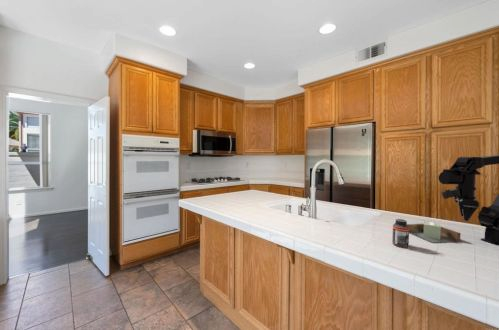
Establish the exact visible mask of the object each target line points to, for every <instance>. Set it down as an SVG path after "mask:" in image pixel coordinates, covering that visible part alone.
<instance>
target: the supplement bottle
mask: <svg viewBox="0 0 499 330" xmlns="http://www.w3.org/2000/svg"><path fill="white" fill-rule="evenodd" d="M406 224H408V222H407V220H406V219H401V218H396V219H395V222H394V224H393V225H392V244H393V246H395V247H398V248H408V247H409V244H410V233H409V227H408V226H407V225H406Z"/></svg>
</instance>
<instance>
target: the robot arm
mask: <svg viewBox="0 0 499 330" xmlns="http://www.w3.org/2000/svg"><path fill="white" fill-rule="evenodd" d="M491 165H492V166H493V165H499V154H494V155H488V156H459V157H457V159H456V160H455V162H454V163H453V164H452V165H451V166H450V167H449V169H447V168H443V169H442V171H441V172H440V174H439V175H438V181H439V182H440V184H442V185H456V186H455V188H452V189H445V190H441V191H440V194H441V195H442V198H443V200H446V199H449V198H453V200H454V202H455V203H456V204H457V206H458V207H459V212H460V216H461V217H463V220H464V222H468V221H469V220H470V219H471V217H472V216H473V215H474V213H475V212H476V211H477V209H479V207H480V202H479V201H478V200H477V199H476V196H475V194H476V190H477V187H476V178H477V177H476V175H477V176H478V175H482V173H481V172H480V171H478V170H479V169H482V168H483V167H485V166H491ZM477 214H478V215H477V219H478V221H479V224H480V226H481V227H484V237H482V238H480V240H481V241H484V242H486V243H490V244H493V245H497V246H499V193H498V194H497V196H496V197H495V198H494V200H493V202H492V203H491V205H488V206H484V205H483V206H482V207H481V208H480V211H479V212H477Z"/></svg>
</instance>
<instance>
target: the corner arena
mask: <svg viewBox="0 0 499 330" xmlns="http://www.w3.org/2000/svg"><path fill="white" fill-rule="evenodd" d="M406 225H407V226H408V227H409V235H412V236H414V237H417V238H419V239H422V240H424V241H427V242H429V243H431V244H440V243H460V242H461V236H462V235H461V232H458V231H455V230H453V229H449V228H447V227H444V226H441V233H440V240H439V239H434V238H428V237H424V223H407V224H406Z"/></svg>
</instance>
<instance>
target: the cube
mask: <svg viewBox="0 0 499 330" xmlns="http://www.w3.org/2000/svg"><path fill="white" fill-rule="evenodd" d="M423 224H424V237H428V238H434V239H439V240H440V233H441V227H442V226H441V223H436V222H432V221H429V222H428V221H424V222H423Z"/></svg>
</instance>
